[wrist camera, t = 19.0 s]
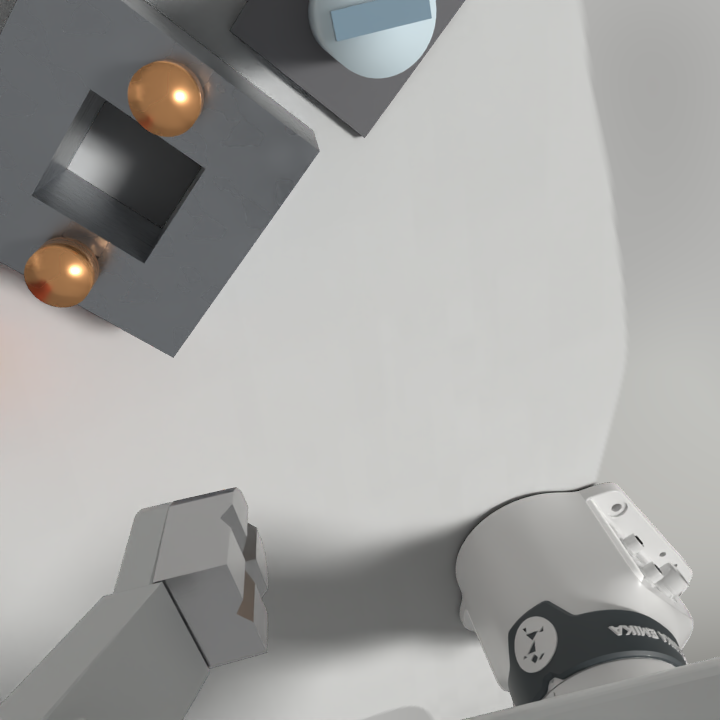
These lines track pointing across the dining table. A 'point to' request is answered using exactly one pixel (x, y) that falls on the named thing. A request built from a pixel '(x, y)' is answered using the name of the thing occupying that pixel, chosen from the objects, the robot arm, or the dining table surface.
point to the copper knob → (61, 272)
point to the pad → (324, 59)
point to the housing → (200, 143)
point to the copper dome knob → (165, 97)
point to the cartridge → (373, 33)
